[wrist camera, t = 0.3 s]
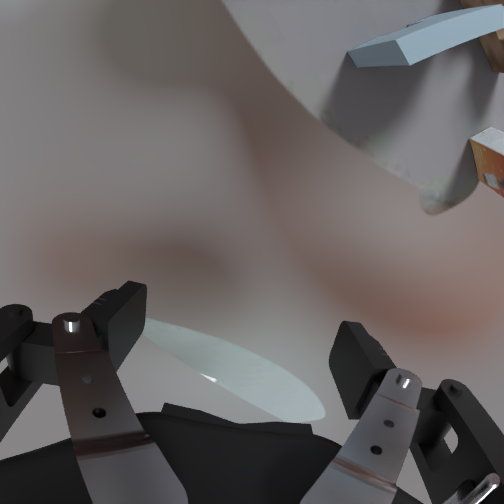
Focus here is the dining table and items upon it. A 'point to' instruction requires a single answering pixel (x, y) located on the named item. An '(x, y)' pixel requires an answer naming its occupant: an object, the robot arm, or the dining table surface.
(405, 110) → the dining table surface
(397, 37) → the light blue square panel
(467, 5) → the walnut block
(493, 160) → the small box
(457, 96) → the dining table surface
